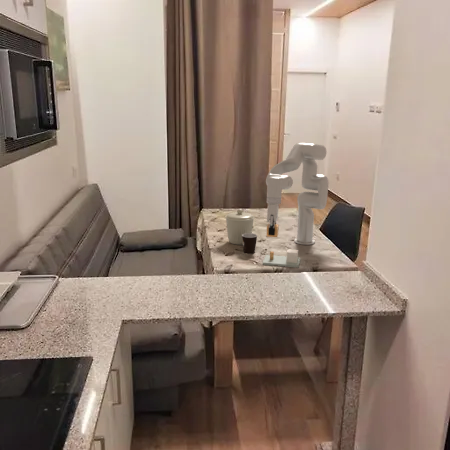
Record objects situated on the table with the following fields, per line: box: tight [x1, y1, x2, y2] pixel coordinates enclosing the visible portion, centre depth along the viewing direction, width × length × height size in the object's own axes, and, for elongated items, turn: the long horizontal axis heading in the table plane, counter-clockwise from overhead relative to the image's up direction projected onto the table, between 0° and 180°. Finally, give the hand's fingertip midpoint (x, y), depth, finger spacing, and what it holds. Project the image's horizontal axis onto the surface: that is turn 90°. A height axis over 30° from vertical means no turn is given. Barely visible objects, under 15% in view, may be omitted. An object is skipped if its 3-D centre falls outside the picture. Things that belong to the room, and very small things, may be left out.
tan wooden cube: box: [266, 223, 280, 238], centre depth 239 cm, size 6×6×6 cm
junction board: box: [262, 248, 301, 268], centre depth 241 cm, size 13×19×7 cm
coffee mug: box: [242, 233, 258, 255], centre depth 258 cm, size 12×9×10 cm
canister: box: [224, 208, 256, 246], centre depth 273 cm, size 18×18×21 cm
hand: (272, 233), depth 239 cm, fingers closed on tan wooden cube, 5 cm apart
